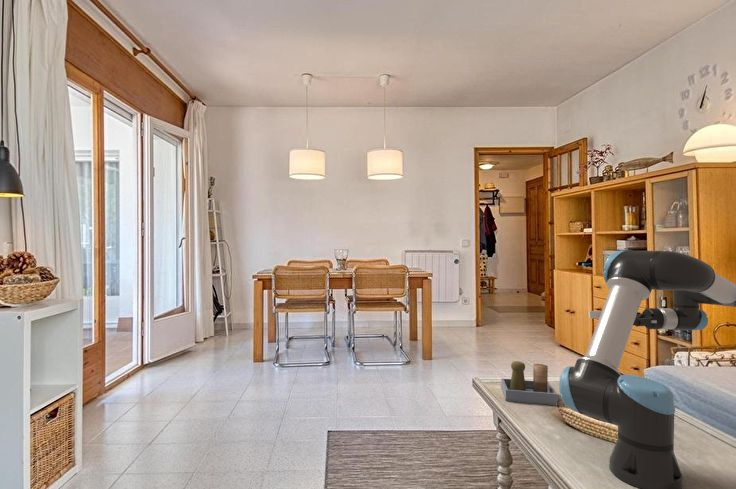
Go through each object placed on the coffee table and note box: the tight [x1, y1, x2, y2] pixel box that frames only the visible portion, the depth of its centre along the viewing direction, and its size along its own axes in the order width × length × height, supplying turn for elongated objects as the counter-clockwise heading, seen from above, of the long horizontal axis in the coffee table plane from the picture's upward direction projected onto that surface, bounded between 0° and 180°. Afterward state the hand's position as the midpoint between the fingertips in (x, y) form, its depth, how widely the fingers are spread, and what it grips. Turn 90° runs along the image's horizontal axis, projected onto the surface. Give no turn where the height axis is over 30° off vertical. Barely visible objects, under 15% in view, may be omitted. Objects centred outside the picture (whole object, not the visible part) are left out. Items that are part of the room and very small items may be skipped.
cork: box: [510, 360, 526, 391], centre depth 165 cm, size 6×6×11 cm
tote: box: [500, 377, 558, 406], centre depth 161 cm, size 15×18×4 cm
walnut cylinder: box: [532, 363, 549, 393], centre depth 160 cm, size 5×5×11 cm
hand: (598, 317), depth 152 cm, fingers open, 13 cm apart
